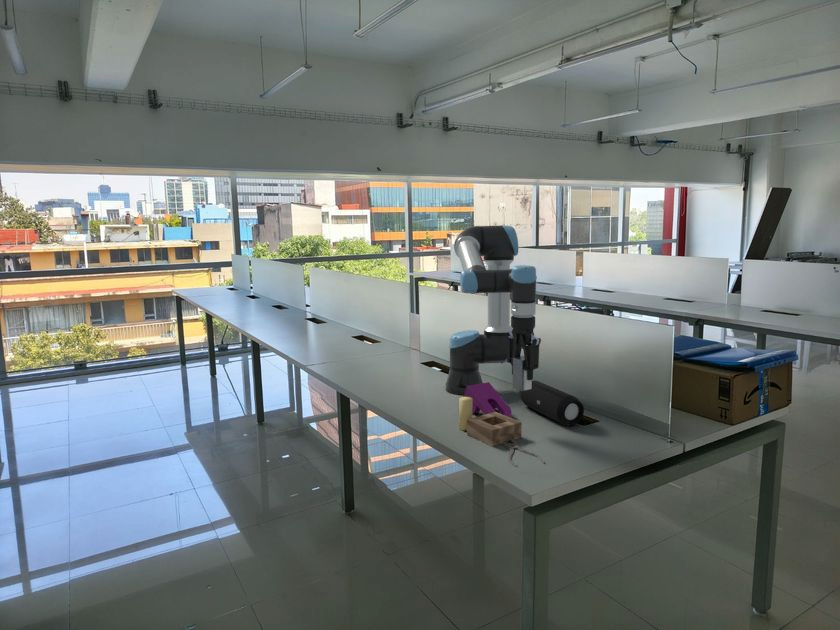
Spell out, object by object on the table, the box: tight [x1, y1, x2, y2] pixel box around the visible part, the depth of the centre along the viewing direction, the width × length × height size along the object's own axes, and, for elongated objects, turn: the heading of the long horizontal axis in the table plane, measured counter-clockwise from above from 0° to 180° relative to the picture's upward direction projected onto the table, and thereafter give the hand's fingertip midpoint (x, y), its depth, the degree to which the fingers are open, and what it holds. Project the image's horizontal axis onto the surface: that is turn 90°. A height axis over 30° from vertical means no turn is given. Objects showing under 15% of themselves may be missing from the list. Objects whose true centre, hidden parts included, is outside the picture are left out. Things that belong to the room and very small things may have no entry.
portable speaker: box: [519, 380, 585, 426], centre depth 195 cm, size 26×10×10 cm, turn 23°
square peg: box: [512, 355, 526, 392], centre depth 181 cm, size 4×4×10 cm
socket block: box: [466, 411, 522, 447], centre depth 178 cm, size 12×12×5 cm
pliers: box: [502, 439, 546, 468], centre depth 165 cm, size 10×1×20 cm
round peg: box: [458, 396, 473, 432], centre depth 184 cm, size 4×4×10 cm
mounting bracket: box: [463, 381, 513, 418], centre depth 198 cm, size 9×8×18 cm
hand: (522, 387), depth 181 cm, fingers closed on square peg, 4 cm apart
